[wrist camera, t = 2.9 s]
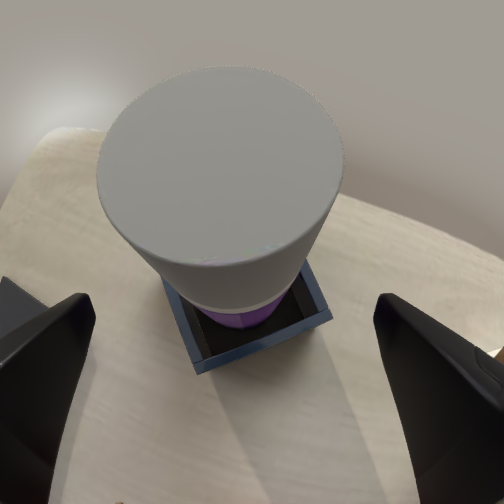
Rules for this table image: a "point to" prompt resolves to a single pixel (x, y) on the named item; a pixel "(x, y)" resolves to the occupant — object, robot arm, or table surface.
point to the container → (223, 185)
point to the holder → (202, 358)
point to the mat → (16, 307)
